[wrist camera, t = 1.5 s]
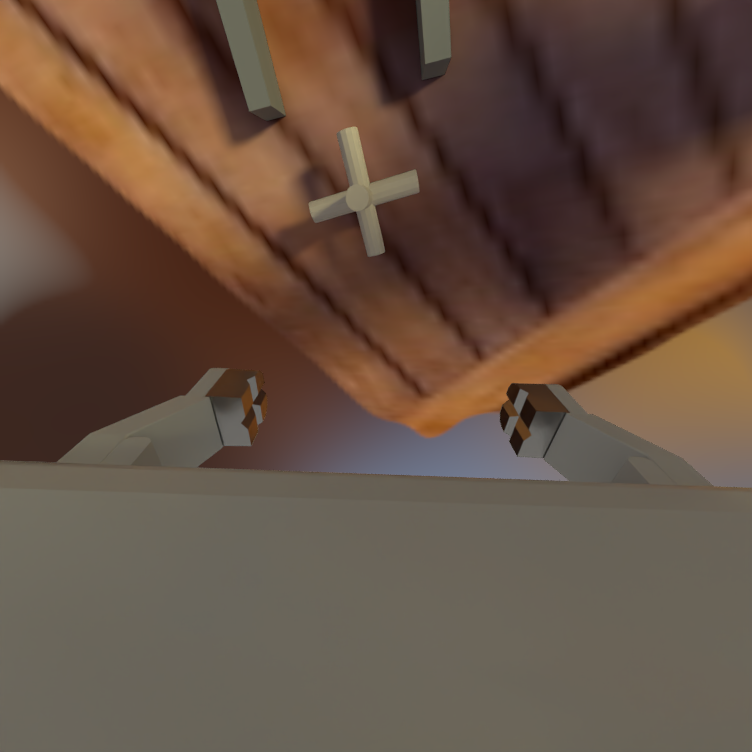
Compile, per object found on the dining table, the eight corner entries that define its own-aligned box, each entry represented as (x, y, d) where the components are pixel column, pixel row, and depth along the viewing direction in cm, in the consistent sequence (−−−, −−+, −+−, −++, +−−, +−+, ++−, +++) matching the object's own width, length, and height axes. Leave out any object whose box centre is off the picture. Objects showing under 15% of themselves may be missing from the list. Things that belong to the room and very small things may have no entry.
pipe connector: (338, 257, 36) (318, 277, 27) (307, 155, 31) (272, 141, 22) (423, 234, 34) (431, 248, 25) (405, 122, 29) (407, 93, 20)
